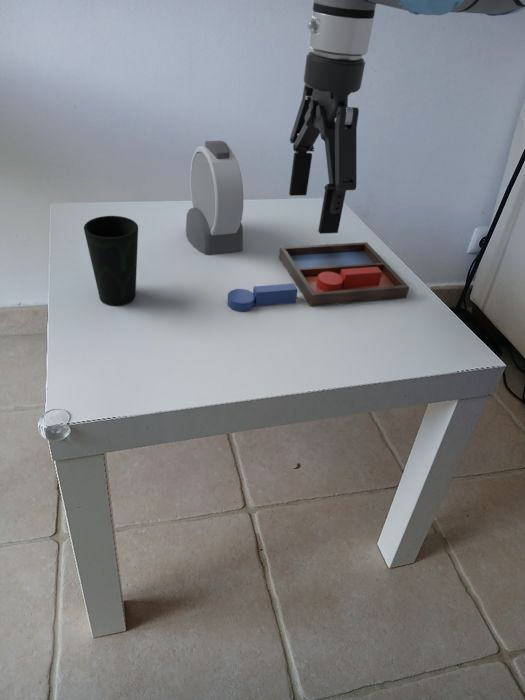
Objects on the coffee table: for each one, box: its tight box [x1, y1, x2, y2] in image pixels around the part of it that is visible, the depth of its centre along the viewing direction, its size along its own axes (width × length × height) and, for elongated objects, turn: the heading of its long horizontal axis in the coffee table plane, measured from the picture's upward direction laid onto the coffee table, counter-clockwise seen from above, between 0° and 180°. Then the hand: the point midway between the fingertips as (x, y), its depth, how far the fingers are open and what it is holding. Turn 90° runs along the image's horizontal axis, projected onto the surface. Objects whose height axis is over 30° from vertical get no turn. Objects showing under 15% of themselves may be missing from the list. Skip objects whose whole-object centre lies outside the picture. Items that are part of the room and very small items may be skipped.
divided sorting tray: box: [278, 241, 410, 307], centre depth 95 cm, size 18×17×2 cm
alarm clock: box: [185, 140, 245, 256], centre depth 98 cm, size 16×10×18 cm, turn 23°
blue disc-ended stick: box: [226, 282, 299, 312], centre depth 86 cm, size 11×4×3 cm, turn 106°
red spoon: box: [317, 267, 382, 292], centre depth 91 cm, size 11×4×3 cm, turn 106°
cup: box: [83, 215, 139, 307], centre depth 80 cm, size 8×8×12 cm
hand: (311, 212), depth 80 cm, fingers open, 13 cm apart
